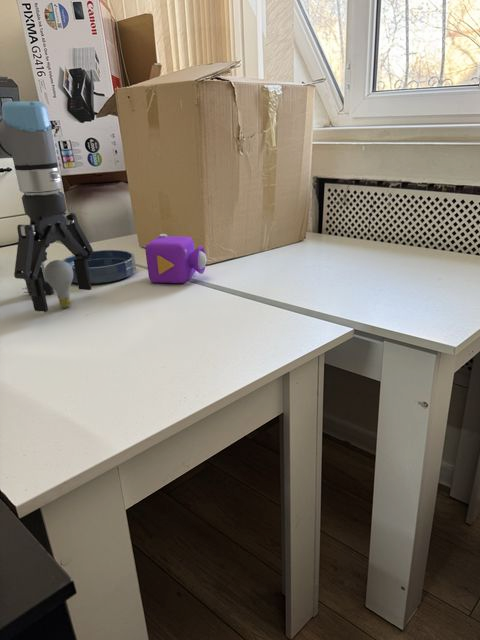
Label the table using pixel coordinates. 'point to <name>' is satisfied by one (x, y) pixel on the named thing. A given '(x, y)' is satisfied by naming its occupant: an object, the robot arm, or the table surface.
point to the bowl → (106, 266)
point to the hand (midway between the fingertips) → (64, 299)
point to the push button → (46, 285)
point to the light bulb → (60, 280)
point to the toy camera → (174, 259)
